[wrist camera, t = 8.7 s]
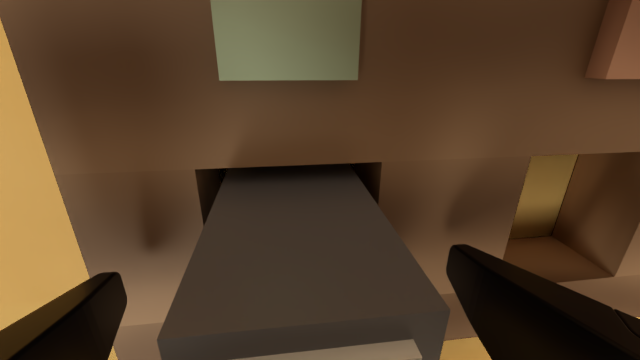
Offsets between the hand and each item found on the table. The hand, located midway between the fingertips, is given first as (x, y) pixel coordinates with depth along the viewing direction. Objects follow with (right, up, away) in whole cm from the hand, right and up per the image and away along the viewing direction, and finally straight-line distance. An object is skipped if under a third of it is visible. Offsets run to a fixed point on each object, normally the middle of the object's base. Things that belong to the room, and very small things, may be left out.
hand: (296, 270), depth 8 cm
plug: (-1, +2, +4) cm, 4 cm away
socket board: (+4, +4, +4) cm, 7 cm away
